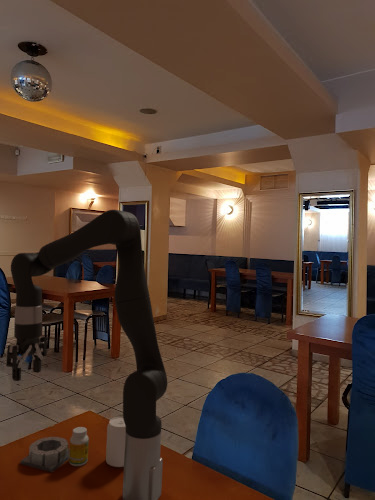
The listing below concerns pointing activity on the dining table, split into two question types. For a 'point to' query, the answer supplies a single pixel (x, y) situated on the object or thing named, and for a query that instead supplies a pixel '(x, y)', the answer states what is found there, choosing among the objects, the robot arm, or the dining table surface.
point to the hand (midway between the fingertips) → (27, 376)
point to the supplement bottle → (79, 447)
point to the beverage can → (115, 442)
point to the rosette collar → (47, 454)
